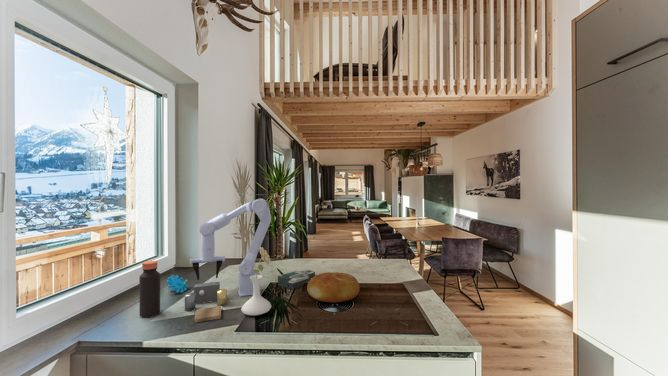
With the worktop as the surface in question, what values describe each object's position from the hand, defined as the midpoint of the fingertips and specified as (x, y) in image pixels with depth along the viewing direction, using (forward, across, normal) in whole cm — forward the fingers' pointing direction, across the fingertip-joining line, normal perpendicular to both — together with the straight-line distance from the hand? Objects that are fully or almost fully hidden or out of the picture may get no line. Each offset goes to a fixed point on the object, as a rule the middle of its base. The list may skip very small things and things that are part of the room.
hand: (207, 278), depth 130 cm
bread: (+8, -53, +22) cm, 58 cm away
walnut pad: (+8, -1, +23) cm, 24 cm away
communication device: (+8, -44, -3) cm, 45 cm away
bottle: (+8, +20, +13) cm, 25 cm away
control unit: (+8, 0, +7) cm, 10 cm away
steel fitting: (+8, +6, +14) cm, 17 cm away
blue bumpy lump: (+8, +13, -10) cm, 18 cm away
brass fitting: (+8, -6, +14) cm, 17 cm away
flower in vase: (+8, -19, +26) cm, 33 cm away
